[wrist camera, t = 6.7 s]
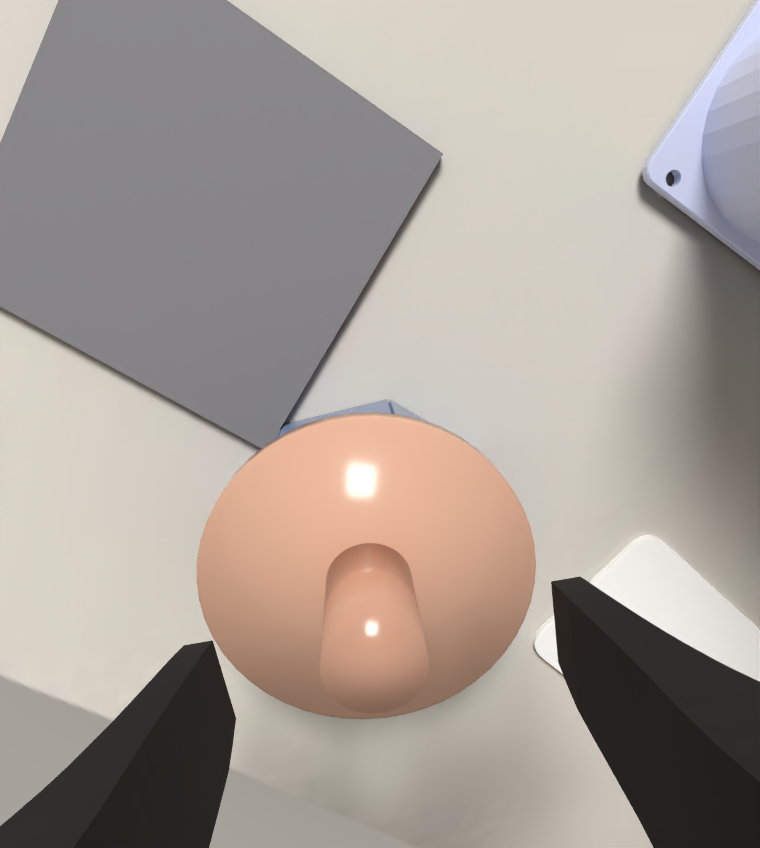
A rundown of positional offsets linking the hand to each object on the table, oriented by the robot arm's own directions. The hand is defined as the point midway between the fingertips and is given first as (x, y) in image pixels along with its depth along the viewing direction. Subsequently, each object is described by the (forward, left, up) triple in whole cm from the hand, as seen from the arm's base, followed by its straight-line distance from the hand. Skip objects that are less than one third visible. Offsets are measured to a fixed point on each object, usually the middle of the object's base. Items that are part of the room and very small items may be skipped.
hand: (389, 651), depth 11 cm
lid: (-1, +2, -7) cm, 7 cm away
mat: (+10, -5, -10) cm, 15 cm away
